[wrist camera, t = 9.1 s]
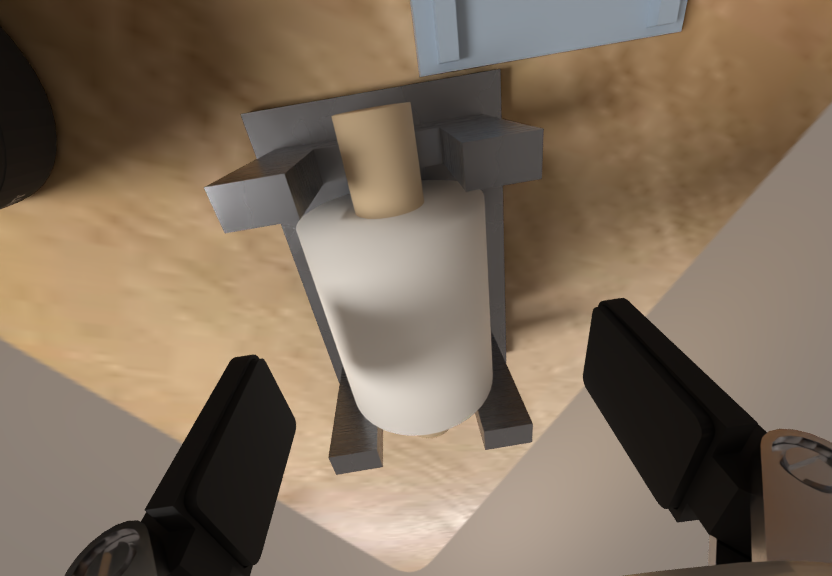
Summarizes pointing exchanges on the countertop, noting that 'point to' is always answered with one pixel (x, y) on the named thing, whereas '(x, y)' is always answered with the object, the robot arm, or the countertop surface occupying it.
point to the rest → (530, 28)
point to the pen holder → (23, 127)
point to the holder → (438, 160)
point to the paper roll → (402, 279)
